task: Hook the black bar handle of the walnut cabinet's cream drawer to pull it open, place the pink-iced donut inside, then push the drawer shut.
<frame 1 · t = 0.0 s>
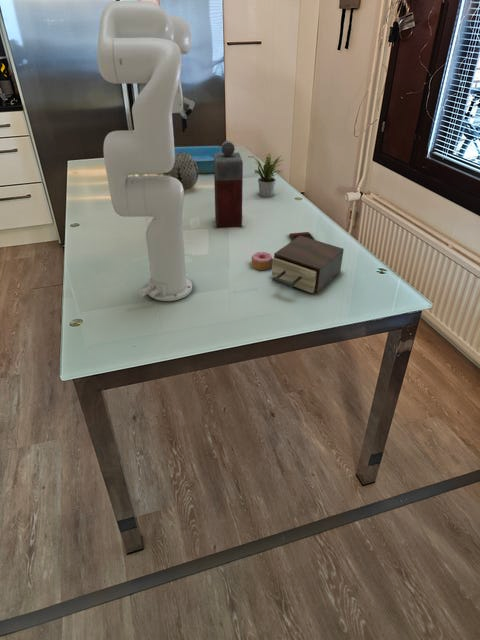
hand: (168, 131, 148), 31 cm above the table, tool pointing down, fingers open, 9 cm apart
house plant: (268, 196, 188), on the table
smartphone: (305, 245, 152), on the table
decorative egg: (184, 189, 194), on the table
donut: (262, 265, 141), on the table
drawer: (299, 270, 131), point 4 cm above the table, slide at 0.5 cm
casserole dish: (193, 168, 216), on the table
toy vending machine: (228, 221, 168), on the table
cabinet: (306, 275, 136), on the table
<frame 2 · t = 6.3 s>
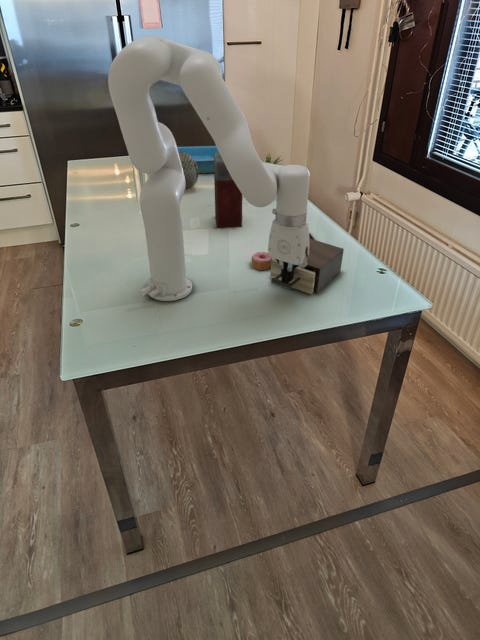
hand: (287, 281, 126), 4 cm above the table, tool pointing down, fingers closed
drawer: (298, 271, 130), point 4 cm above the table, slide at 1.2 cm, touching gripper
everything else where it was.
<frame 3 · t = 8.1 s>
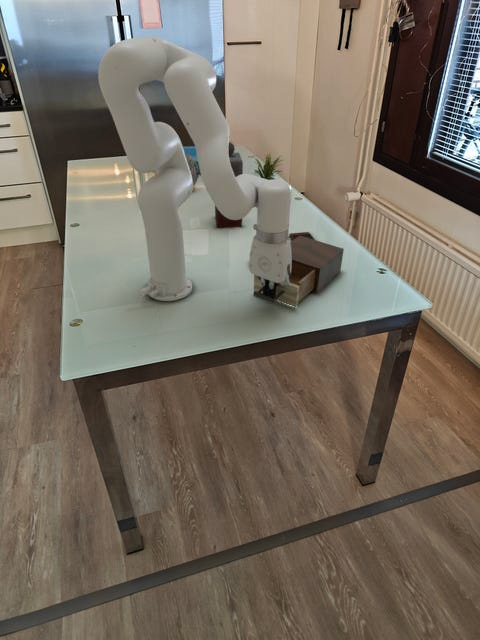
hand: (269, 298, 121), 3 cm above the table, tool pointing down, fingers closed
drawer: (282, 283, 125), point 4 cm above the table, slide at 9.6 cm, touching gripper
everything else where it was.
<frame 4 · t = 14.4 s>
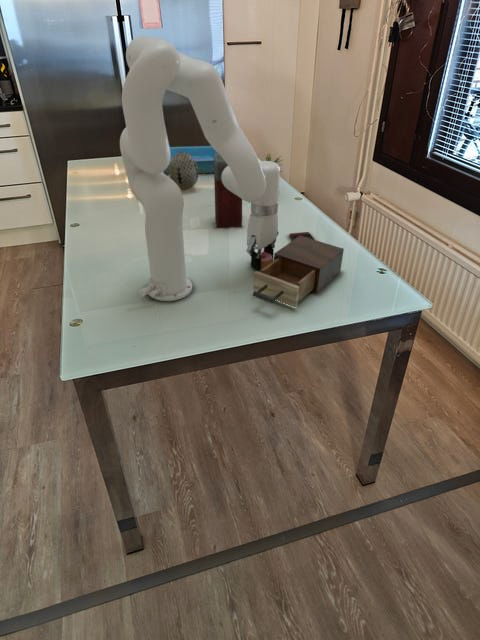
hand: (262, 263, 141), 1 cm above the table, tool pointing down, fingers closed on donut, 6 cm apart
donut: (262, 265, 141), on the table, touching gripper
drawer: (282, 284, 124), point 4 cm above the table, slide at 9.8 cm
everything else where it was.
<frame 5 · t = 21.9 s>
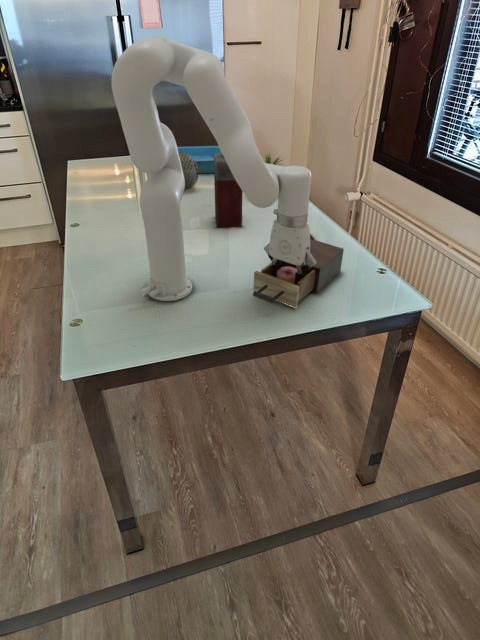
hand: (287, 279, 126), 4 cm above the table, tool pointing down, fingers closed on donut, 6 cm apart
donut: (287, 281, 126), point 4 cm above the table, touching gripper
drawer: (282, 284, 125), point 4 cm above the table, slide at 9.7 cm, touching gripper
everything else where it was.
when the fingers open (7 cm above the table, at t = 41.2 s): donut drops 5 cm, resting on drawer.
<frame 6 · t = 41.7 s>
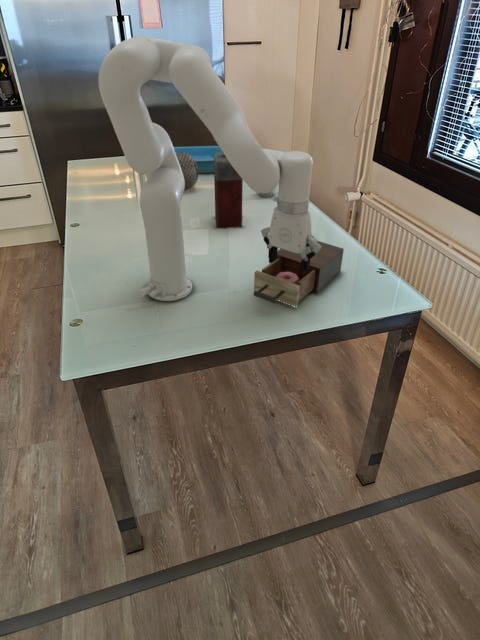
hand: (288, 266, 124), 8 cm above the table, tool pointing down, fingers open, 9 cm apart
donut: (286, 286, 127), point 2 cm above the table, touching drawer
drawer: (282, 283, 125), point 4 cm above the table, slide at 9.4 cm, touching donut
everything else where it was.
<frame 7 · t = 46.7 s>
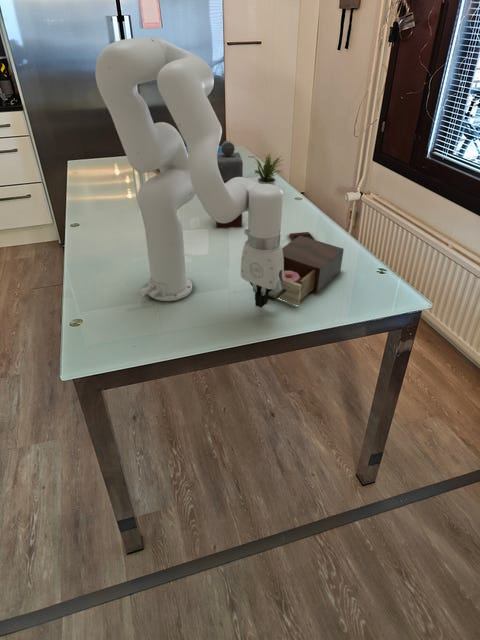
hand: (261, 304, 119), 3 cm above the table, tool pointing down, fingers closed
drawer: (284, 282, 125), point 4 cm above the table, slide at 8.6 cm, touching donut, gripper
everything else where it was.
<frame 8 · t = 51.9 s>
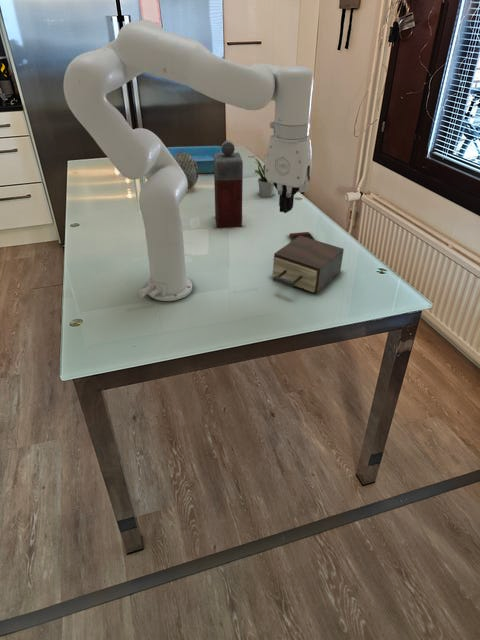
hand: (285, 210, 112), 25 cm above the table, tool pointing down, fingers closed
donut: (303, 272, 134), point 2 cm above the table, touching drawer
drawer: (300, 269, 131), point 4 cm above the table, slide at 0.0 cm, touching cabinet, donut
everything else where it was.
at the end: drawer pulled out 9.8 cm at the most during the clip, back to where it started at the end; donut inside the target area in the cabinet (2.0 cm from its centre), point 1.9 cm above the cabinet's base; drawer slide at 0.0 cm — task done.
